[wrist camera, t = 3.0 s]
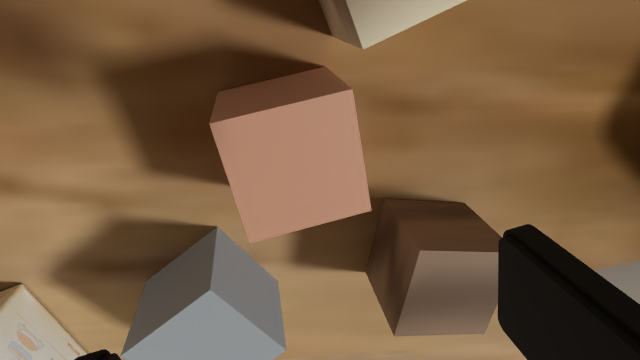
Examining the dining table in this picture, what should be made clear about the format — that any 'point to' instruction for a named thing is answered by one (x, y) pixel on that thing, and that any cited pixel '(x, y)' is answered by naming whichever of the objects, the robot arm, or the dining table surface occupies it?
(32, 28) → the dining table surface
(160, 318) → the slate block
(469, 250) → the walnut block
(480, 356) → the dining table surface
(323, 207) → the terracotta block
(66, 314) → the dining table surface
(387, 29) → the beech block
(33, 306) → the coffeecake box
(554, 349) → the robot arm
